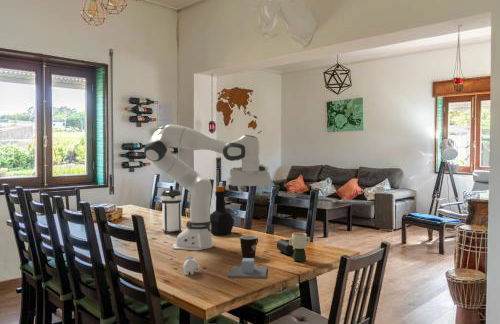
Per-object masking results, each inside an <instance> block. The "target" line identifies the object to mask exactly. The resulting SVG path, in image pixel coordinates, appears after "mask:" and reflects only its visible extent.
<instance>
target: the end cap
mask: <svg viewBox="0 0 500 324" xmlns="http://www.w3.org/2000/svg"><path fill="white" fill-rule="evenodd" d="M291 243H292V241H291ZM276 249H278V251H280V252H281V253H283V254H286V255H288V256H289V257H291V256H292V257H293V254H294V249H295V248H294V247H293V246H292V245H289V239H283V238H279V240H278V241H277V242H276Z"/></svg>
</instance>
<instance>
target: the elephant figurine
mask: <svg viewBox="0 0 500 324" xmlns="http://www.w3.org/2000/svg"><path fill="white" fill-rule="evenodd" d="M180 266H181V267H182V269H183V273H184V275H185V276H188V275H194V274H195V271H196V272H197V273H198V272H200V270H203V268H202V267H203V266H202V265H200V264H199V263H198V261H197V259H195V258H194V256H192V255H191V254H190V255H187V256H186V257H185V259H184V263H183V264H180Z"/></svg>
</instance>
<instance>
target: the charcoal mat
mask: <svg viewBox="0 0 500 324" xmlns="http://www.w3.org/2000/svg"><path fill="white" fill-rule="evenodd" d="M267 270H268V266H258V265H257V266H255V265H254V272H253V273H242V265H232V266H231V268H230V271H229V273H228V275H227V278H232V279H233V278H237V279H238V278H239V279H243V278H245V279H266V278H267V272H268V271H267Z"/></svg>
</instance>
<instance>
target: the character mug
mask: <svg viewBox="0 0 500 324" xmlns="http://www.w3.org/2000/svg"><path fill="white" fill-rule="evenodd" d="M288 240H289V245H292V246H293V249H294V254H293V256H292V260H294V261H296V262H304V261H306V260H307V256H306V250H305V249H306V248H307V247H308V246H307V245H308V244H309V245H310V241H311V238H310V236H308V234H307V233H306V232H293V233H292V234H291V238H289V239H288ZM291 242H292V243H291Z"/></svg>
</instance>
